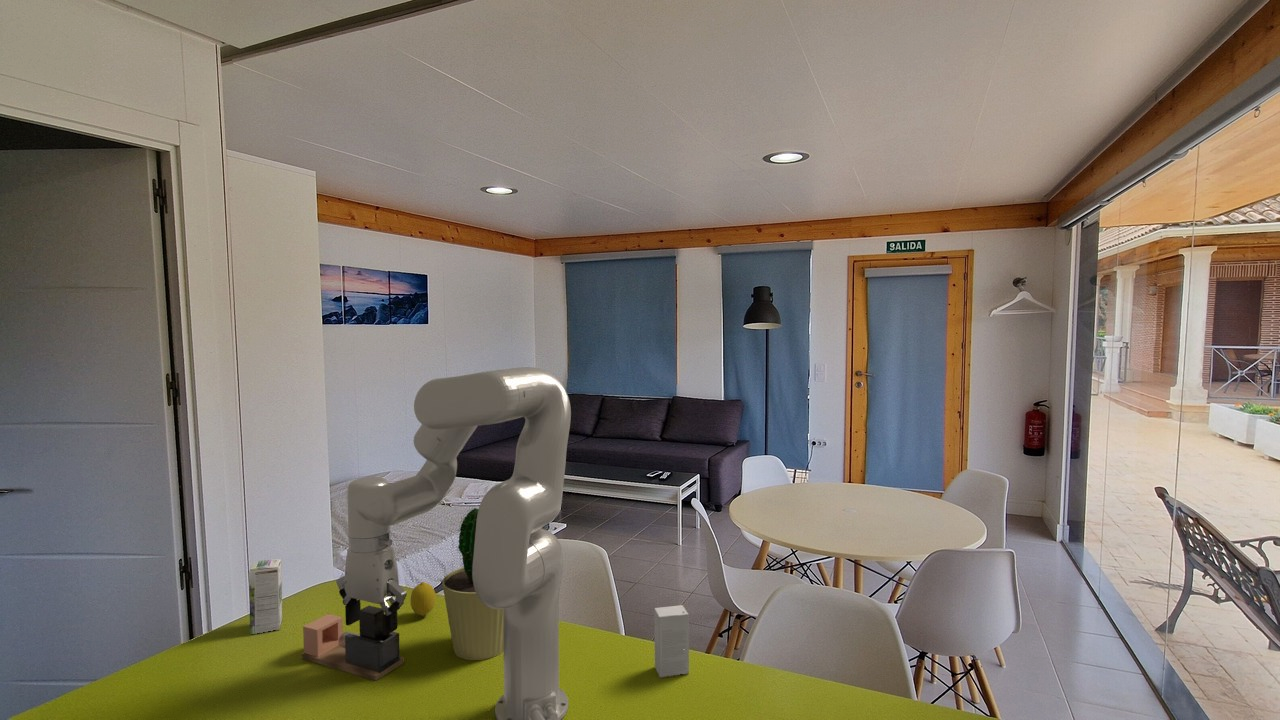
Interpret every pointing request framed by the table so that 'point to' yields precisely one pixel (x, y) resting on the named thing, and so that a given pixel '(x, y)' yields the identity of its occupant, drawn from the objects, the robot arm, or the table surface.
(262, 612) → the syrup box
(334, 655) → the base board
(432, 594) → the lemon
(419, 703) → the table surface
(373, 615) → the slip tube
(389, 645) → the dark grey open box
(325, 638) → the socket block
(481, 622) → the potted cactus
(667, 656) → the skincare box
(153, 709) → the table surface
